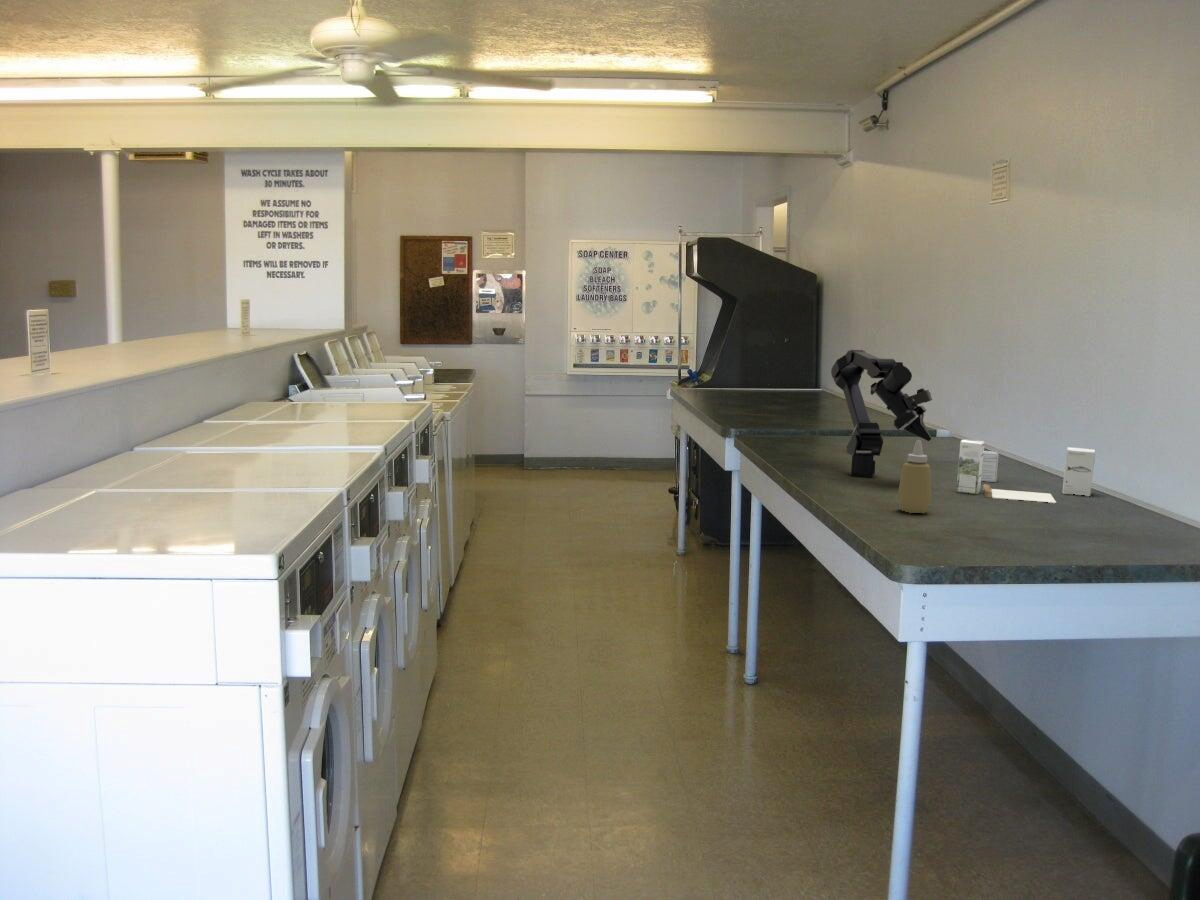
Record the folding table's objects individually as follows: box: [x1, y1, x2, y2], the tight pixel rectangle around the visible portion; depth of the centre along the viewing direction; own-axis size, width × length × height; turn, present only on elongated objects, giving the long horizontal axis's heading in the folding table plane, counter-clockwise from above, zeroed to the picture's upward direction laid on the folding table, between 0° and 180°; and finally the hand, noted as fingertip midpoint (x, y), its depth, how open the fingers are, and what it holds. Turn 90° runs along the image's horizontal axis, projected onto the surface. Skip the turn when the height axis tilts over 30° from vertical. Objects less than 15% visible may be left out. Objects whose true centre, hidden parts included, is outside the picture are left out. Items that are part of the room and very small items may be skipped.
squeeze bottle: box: [897, 439, 932, 514], centre depth 268 cm, size 8×8×18 cm
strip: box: [982, 483, 993, 499], centre depth 299 cm, size 2×12×2 cm, turn 164°
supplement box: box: [1061, 446, 1096, 497], centre depth 304 cm, size 7×7×13 cm
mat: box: [991, 488, 1057, 504], centre depth 297 cm, size 16×14×1 cm
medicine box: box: [981, 450, 1000, 483], centre depth 320 cm, size 8×4×9 cm, turn 84°
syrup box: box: [955, 438, 985, 495], centre depth 299 cm, size 6×6×14 cm
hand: (930, 440), depth 303 cm, fingers closed
